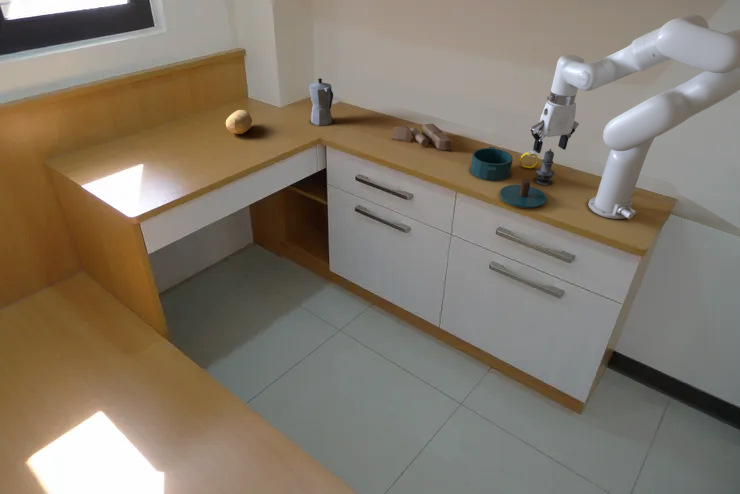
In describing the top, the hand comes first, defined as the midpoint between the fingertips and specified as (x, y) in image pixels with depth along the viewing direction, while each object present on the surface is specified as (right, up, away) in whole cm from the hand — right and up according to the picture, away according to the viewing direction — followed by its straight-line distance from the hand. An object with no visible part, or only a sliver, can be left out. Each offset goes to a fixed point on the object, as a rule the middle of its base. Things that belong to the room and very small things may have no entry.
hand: (549, 149), depth 167 cm
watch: (-2, -4, +15) cm, 16 cm away
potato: (-110, +14, +38) cm, 117 cm away
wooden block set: (-39, +8, +31) cm, 50 cm away
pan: (-17, -6, +12) cm, 21 cm away
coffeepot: (-78, +20, +48) cm, 94 cm away
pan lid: (-10, -16, -4) cm, 19 cm away
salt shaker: (0, -10, +6) cm, 12 cm away
